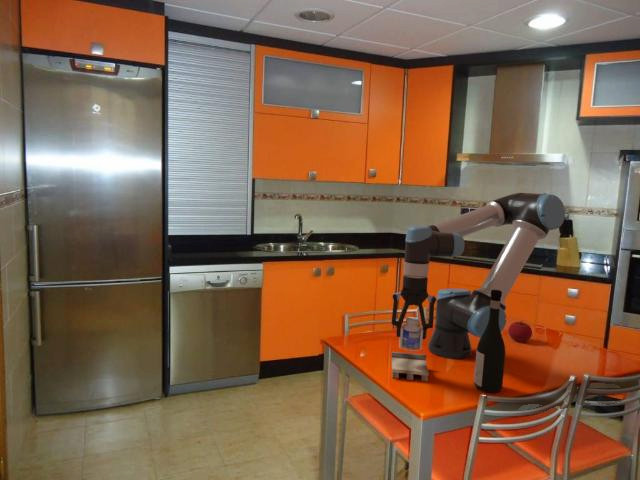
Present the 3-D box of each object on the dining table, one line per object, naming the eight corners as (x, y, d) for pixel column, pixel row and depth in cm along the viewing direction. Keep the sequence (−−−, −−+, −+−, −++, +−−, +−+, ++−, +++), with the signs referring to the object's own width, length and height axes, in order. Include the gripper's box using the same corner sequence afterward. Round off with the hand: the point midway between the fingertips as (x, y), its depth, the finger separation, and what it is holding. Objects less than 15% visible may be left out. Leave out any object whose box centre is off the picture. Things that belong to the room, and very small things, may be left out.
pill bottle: (399, 345, 150) (401, 315, 149) (416, 345, 151) (418, 316, 149) (404, 351, 145) (406, 320, 144) (421, 351, 145) (423, 321, 144)
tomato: (532, 340, 188) (534, 320, 187) (529, 345, 180) (531, 325, 179) (509, 335, 192) (511, 316, 191) (505, 341, 185) (507, 321, 184)
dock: (424, 367, 153) (425, 354, 153) (428, 381, 143) (429, 367, 142) (391, 364, 155) (392, 351, 154) (391, 378, 144) (392, 364, 143)
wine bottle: (472, 390, 138) (481, 291, 134) (474, 380, 145) (482, 286, 141) (502, 396, 135) (511, 294, 131) (501, 385, 142) (510, 289, 139)
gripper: (444, 275, 147) (438, 346, 150) (385, 271, 150) (381, 341, 152) (447, 280, 140) (441, 354, 143) (385, 275, 142) (381, 348, 145)
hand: (410, 347), depth 148 cm, fingers closed on pill bottle, 5 cm apart
